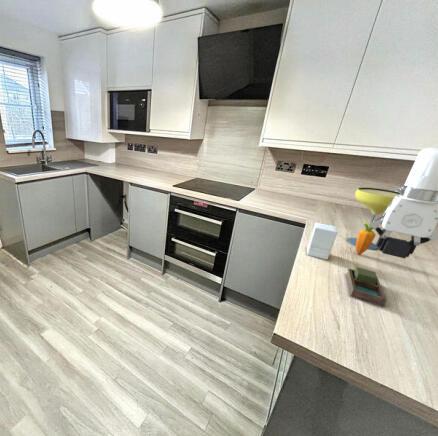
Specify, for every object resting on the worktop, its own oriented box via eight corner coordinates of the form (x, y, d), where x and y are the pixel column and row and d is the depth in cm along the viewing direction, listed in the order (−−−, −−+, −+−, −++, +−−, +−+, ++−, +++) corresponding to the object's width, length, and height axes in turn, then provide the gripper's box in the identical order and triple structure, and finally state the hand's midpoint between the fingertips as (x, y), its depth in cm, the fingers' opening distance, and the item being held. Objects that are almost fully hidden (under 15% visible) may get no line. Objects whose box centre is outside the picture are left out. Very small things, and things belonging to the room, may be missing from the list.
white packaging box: (326, 253, 101) (336, 226, 96) (327, 260, 95) (338, 232, 91) (306, 247, 105) (315, 221, 100) (306, 254, 99) (315, 227, 94)
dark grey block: (400, 252, 72) (406, 240, 71) (405, 258, 68) (411, 246, 67) (379, 247, 75) (384, 235, 73) (382, 253, 71) (388, 241, 69)
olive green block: (370, 281, 82) (375, 271, 80) (373, 288, 78) (378, 278, 76) (352, 276, 84) (356, 266, 83) (354, 283, 80) (358, 273, 79)
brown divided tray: (374, 282, 82) (377, 276, 81) (383, 306, 71) (386, 299, 70) (346, 274, 86) (348, 268, 85) (350, 296, 75) (353, 289, 74)
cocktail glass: (394, 248, 108) (420, 195, 99) (378, 257, 99) (405, 200, 90) (348, 232, 122) (367, 186, 113) (331, 239, 114) (349, 189, 105)
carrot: (349, 254, 101) (363, 222, 95) (352, 250, 104) (365, 219, 99) (364, 258, 98) (379, 225, 92) (366, 255, 101) (381, 223, 95)
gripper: (381, 191, 66) (357, 248, 73) (474, 204, 57) (437, 267, 64) (376, 186, 72) (354, 239, 79) (460, 197, 63) (427, 256, 70)
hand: (392, 251), depth 71 cm, fingers closed on dark grey block, 5 cm apart
